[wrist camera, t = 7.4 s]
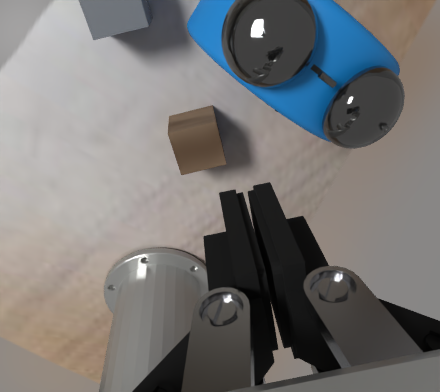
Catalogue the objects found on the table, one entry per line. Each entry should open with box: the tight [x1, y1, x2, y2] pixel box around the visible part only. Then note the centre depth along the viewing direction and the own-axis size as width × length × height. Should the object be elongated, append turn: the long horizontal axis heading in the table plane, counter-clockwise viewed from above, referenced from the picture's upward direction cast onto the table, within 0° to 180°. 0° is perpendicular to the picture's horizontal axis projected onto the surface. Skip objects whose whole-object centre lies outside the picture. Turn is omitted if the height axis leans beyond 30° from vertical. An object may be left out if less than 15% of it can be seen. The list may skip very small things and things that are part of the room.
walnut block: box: [168, 105, 226, 175], centre depth 34 cm, size 4×4×4 cm
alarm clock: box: [187, 0, 404, 148], centre depth 25 cm, size 13×6×15 cm, turn 55°
